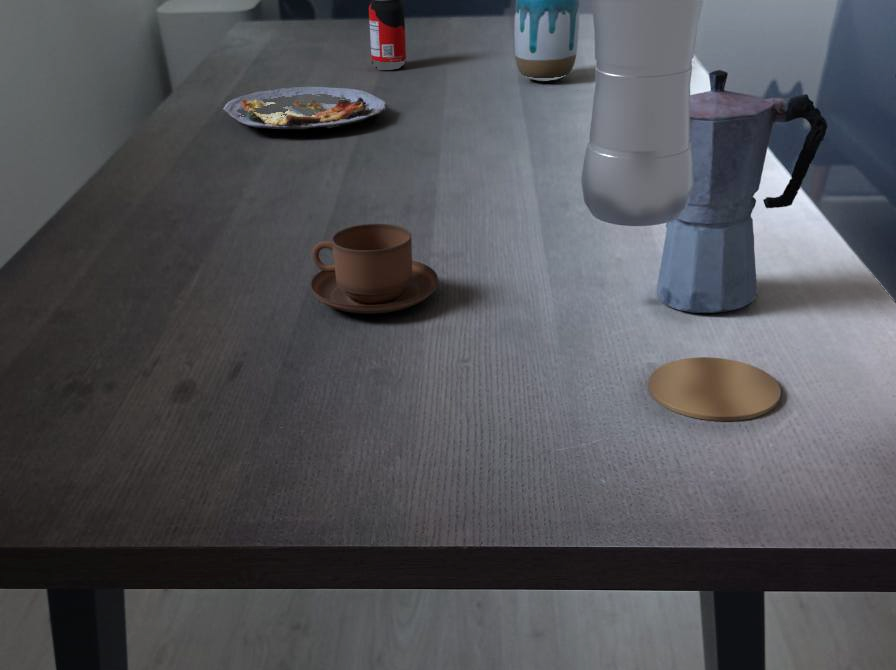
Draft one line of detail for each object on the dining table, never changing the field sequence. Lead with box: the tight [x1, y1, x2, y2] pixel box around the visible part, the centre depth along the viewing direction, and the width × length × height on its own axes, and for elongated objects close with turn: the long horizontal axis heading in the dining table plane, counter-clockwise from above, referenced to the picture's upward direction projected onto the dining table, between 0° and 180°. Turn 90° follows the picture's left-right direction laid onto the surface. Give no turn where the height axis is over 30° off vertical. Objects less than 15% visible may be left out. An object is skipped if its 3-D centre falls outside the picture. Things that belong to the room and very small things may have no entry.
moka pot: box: [656, 69, 828, 314], centre depth 91 cm, size 10×15×20 cm, turn 78°
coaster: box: [648, 356, 782, 422], centre depth 81 cm, size 10×10×1 cm
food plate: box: [222, 86, 388, 130], centre depth 158 cm, size 25×23×4 cm
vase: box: [513, 0, 580, 83], centre depth 171 cm, size 11×11×19 cm
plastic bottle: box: [580, 0, 704, 227], centre depth 59 cm, size 6×7×20 cm
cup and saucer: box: [310, 223, 439, 315], centre depth 97 cm, size 12×12×6 cm
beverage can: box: [368, 0, 407, 62], centre depth 187 cm, size 6×6×12 cm
